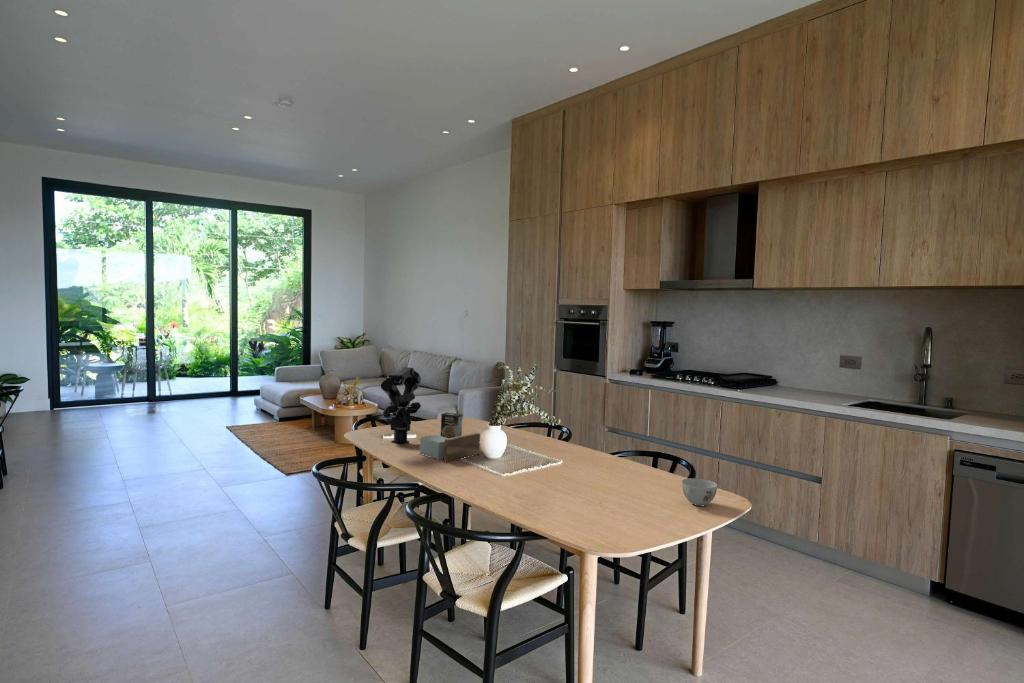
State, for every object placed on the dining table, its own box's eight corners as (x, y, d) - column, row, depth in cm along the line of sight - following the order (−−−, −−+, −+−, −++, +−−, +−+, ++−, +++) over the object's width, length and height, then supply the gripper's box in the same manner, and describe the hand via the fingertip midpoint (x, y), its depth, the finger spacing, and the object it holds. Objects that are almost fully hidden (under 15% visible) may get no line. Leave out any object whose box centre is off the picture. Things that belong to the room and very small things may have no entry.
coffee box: (439, 446, 276) (440, 414, 275) (444, 443, 282) (446, 411, 281) (456, 448, 274) (457, 415, 273) (461, 445, 280) (462, 413, 279)
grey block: (419, 454, 261) (420, 437, 260) (434, 451, 267) (435, 434, 267) (438, 460, 252) (438, 442, 251) (453, 456, 259) (453, 439, 258)
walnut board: (443, 461, 250) (444, 439, 249) (475, 453, 265) (476, 432, 264) (447, 462, 248) (448, 440, 247) (479, 454, 263) (480, 433, 263)
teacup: (691, 496, 215) (692, 475, 214) (722, 505, 205) (724, 483, 205) (670, 504, 204) (671, 482, 204) (702, 514, 195) (703, 491, 195)
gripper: (387, 388, 256) (402, 416, 250) (419, 385, 270) (433, 411, 264) (376, 403, 262) (390, 430, 255) (408, 399, 276) (422, 425, 269)
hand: (410, 424), depth 261 cm, fingers closed
